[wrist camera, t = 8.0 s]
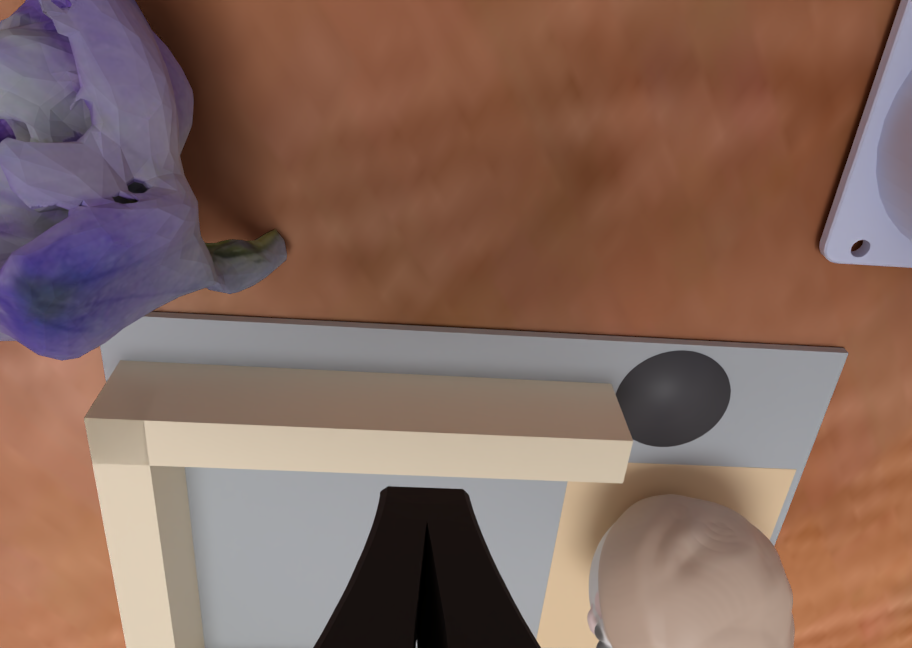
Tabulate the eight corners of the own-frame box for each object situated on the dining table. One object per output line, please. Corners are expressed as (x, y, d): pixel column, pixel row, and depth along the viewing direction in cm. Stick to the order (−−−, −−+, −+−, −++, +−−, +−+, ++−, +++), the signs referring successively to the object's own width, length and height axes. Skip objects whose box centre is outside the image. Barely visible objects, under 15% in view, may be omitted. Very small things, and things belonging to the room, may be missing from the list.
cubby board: (843, 347, 24) (897, 407, 21) (709, 701, 32) (735, 777, 29) (99, 308, 22) (53, 367, 19) (160, 692, 30) (134, 771, 28)
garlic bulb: (549, 587, 28) (592, 821, 21) (599, 447, 25) (668, 666, 18) (723, 605, 29) (819, 837, 22) (791, 472, 26) (929, 691, 19)
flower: (433, 266, 15) (-226, 189, 9) (277, 429, 21) (-187, 438, 15) (352, -50, 19) (-155, -236, 13) (239, 164, 25) (-146, 96, 19)
